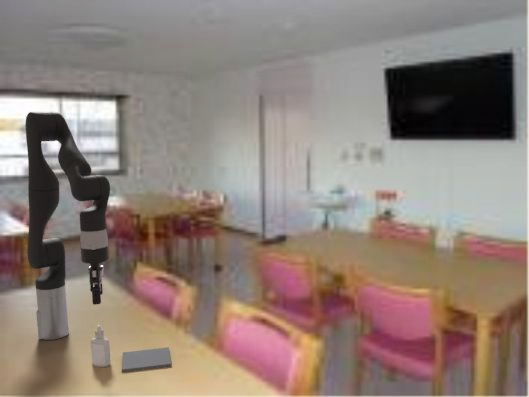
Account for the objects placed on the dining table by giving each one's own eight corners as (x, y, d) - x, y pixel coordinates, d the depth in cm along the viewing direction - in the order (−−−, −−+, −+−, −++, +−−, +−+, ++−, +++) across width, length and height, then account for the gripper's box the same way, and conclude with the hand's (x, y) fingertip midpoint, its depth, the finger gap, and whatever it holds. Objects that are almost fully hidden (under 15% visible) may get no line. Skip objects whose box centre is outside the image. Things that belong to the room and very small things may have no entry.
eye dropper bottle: (97, 369, 155) (94, 330, 153) (90, 363, 159) (88, 324, 158) (112, 365, 157) (109, 326, 156) (105, 359, 162) (102, 321, 160)
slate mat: (121, 372, 153) (121, 369, 153) (122, 354, 165) (122, 352, 164) (171, 366, 156) (171, 363, 156) (168, 349, 168) (168, 347, 168)
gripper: (82, 240, 159) (86, 293, 162) (78, 251, 146) (82, 308, 148) (109, 238, 161) (112, 290, 163) (106, 249, 147) (110, 305, 150)
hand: (97, 299), depth 156 cm, fingers open, 8 cm apart
